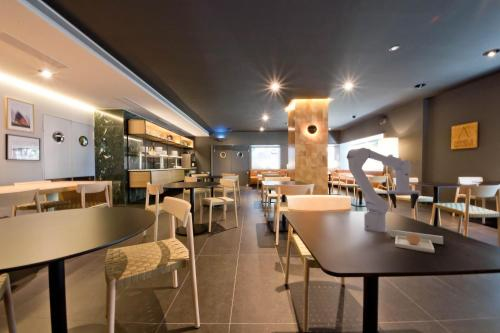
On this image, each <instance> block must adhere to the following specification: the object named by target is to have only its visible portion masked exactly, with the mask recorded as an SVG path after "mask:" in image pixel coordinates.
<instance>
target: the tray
mask: <svg viewBox="0 0 500 333" xmlns="http://www.w3.org/2000/svg"><path fill="white" fill-rule="evenodd" d="M394 238H395V239H394V240H395V242H394V247H395V248H401V249H406V250H412V251H419V252H424V253H430V254H435V248H434V245H433V243H432V242H431V240H426V239H420V242H419V243H418V244H411V243H409V242H408V241H407V237H405V236H398V235H396V237H394Z"/></svg>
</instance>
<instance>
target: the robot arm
mask: <svg viewBox="0 0 500 333" xmlns="http://www.w3.org/2000/svg"><path fill="white" fill-rule="evenodd" d="M346 159H347V161H348V162H347V164H348V171H349V172H350V173H351V175H352V177H353V179H354V180H355V182H356V183H357V185H358V188H359V189H360V190H361V192H362V193H363V196H364V197H365V198H364V200H363V201H364V203H365V207H366V209H367V210H368V211H365V212H364V219H363V220H364V223H363V224H364V230H365V231H369V232H370V231H371V232H379V233H387V232H388V231H387V230H388V227H386V222H387V221H386V214H387V213H388V211H389V208H390V205H389V203H388V202H387V201H385V200H384V199H383V197H382V196H381V195H379V194H378V193H377V192H376V190H375V188H374V187H373V185H372V183H371V181H370V180H369V178H368V176H367V174H366V173H365V171H364V170H363V166H364V165H365V163H366V162H367V161H368V159H370V160H374V161H376V162H377V161H378V162H381V164H382V166H385V167H388V168H391V169H393V170H394V172H395V188H396V189H394V190H391V189H390V190H386V195H388V196H389V197H390V200H391V201H392V204H393V209H397V196H396V195H410V208H411V209H412V210H414V209H415V206H416V203H417V201H418V199H419V198H420V196H421V195H422V192H421V190H411V189H410V186H411V185H410V173H411V169H412V168H413V165H412V164H411V162H410V161H409V160H408V159H401V157H396V156H394V155H393V154H386V155H384V154H381V153H379V152H376V151H374V150H371V149H370V148H366V147H361V148H354V149H350V150H348V152H347V155H346Z"/></svg>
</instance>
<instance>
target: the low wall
mask: <svg viewBox="0 0 500 333" xmlns="http://www.w3.org/2000/svg"><path fill="white" fill-rule="evenodd" d="M410 233H414V234H416V235H418V236H419V238H420V239H426V240H431V242H432V244H438V245H444V236H443V235H437V234H436V235H434V234H429V233H428V234H427V233H421V232H413V231H405V230H404V231H403V230H397V229H390V237H392V238H396V235H398V236H405V237H407V235H408V234H410Z"/></svg>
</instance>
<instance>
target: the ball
mask: <svg viewBox="0 0 500 333" xmlns="http://www.w3.org/2000/svg"><path fill="white" fill-rule="evenodd" d="M414 233H415V232H414ZM414 233H410V234H408V235H407V241H408V242H409V243H411V244H418V243H419V242H420V238H419V236H418V235H416V234H414Z"/></svg>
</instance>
